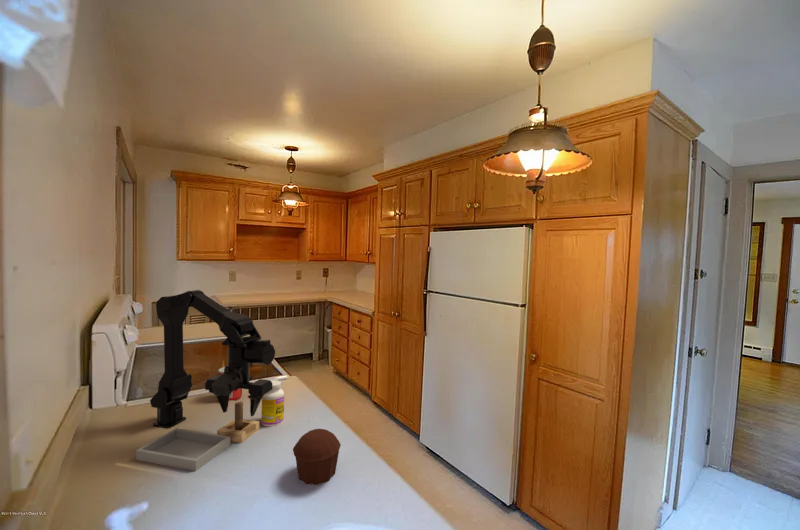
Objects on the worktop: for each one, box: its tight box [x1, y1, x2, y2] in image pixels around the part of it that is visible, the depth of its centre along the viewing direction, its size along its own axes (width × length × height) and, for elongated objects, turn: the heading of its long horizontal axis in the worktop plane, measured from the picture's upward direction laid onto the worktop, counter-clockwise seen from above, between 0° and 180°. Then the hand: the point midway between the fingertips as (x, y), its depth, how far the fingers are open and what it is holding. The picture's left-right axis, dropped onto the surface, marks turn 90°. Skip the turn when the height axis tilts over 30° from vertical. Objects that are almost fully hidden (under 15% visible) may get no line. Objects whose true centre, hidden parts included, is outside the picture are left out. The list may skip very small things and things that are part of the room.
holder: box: [216, 418, 260, 444], centre depth 105 cm, size 8×8×3 cm
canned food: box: [217, 366, 243, 401], centre depth 131 cm, size 8×8×11 cm
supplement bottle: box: [260, 379, 285, 428], centre depth 112 cm, size 7×7×13 cm
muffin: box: [292, 428, 342, 486], centre depth 87 cm, size 12×11×10 cm
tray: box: [135, 427, 231, 472], centre depth 95 cm, size 18×12×3 cm, turn 77°
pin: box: [234, 401, 244, 430], centre depth 104 cm, size 2×2×9 cm
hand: (238, 414), depth 104 cm, fingers open, 9 cm apart
